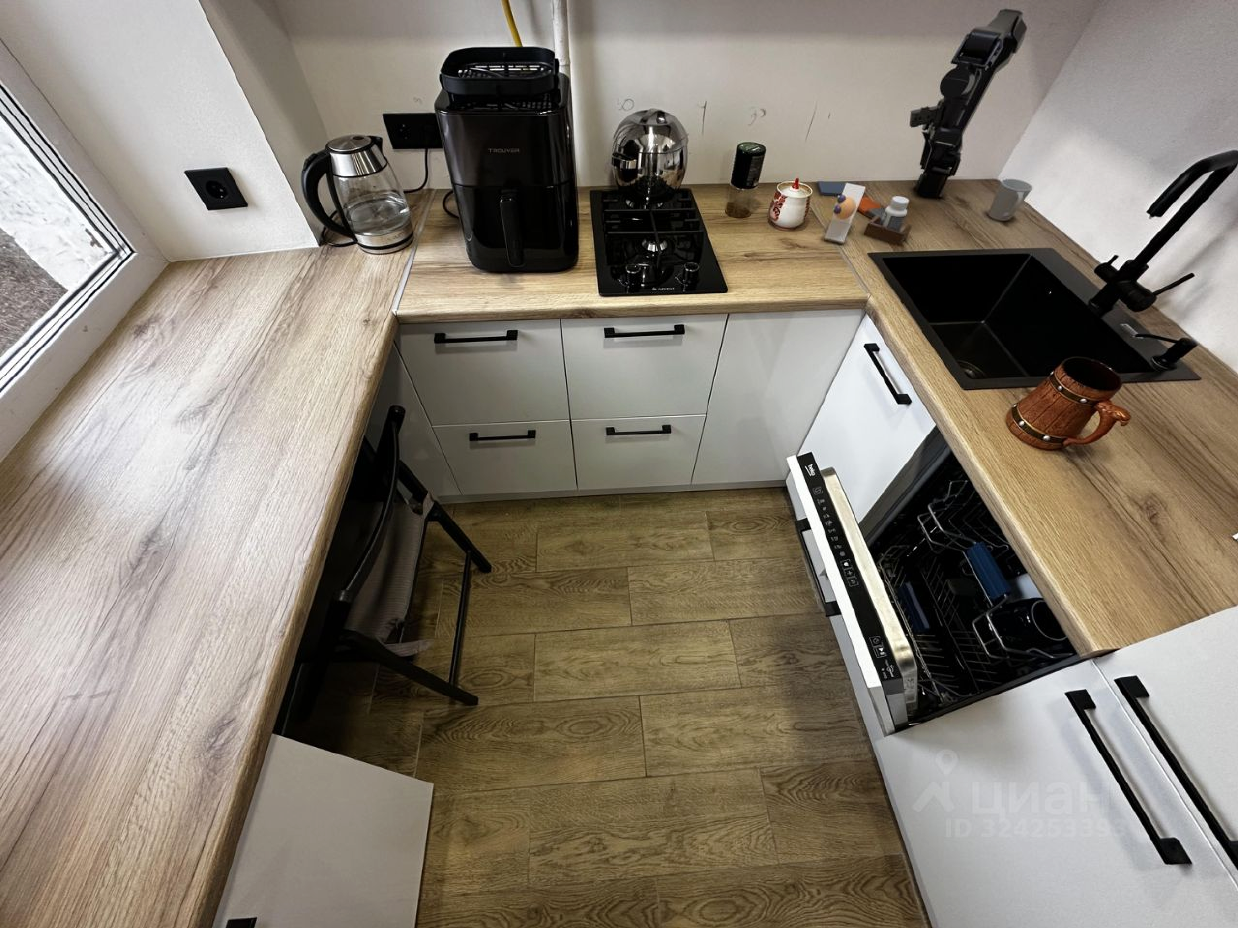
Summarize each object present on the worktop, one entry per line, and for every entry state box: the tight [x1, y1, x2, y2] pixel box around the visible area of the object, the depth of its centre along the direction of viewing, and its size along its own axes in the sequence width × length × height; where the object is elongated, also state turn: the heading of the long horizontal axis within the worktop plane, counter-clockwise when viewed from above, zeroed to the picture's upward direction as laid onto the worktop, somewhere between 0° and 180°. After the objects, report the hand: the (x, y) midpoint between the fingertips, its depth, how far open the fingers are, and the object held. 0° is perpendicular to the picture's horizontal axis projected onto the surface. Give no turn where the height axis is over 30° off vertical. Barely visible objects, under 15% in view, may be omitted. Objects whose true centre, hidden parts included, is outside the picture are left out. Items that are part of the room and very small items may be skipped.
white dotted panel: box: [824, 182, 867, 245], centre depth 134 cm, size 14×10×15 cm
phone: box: [857, 196, 886, 225], centre depth 145 cm, size 6×1×15 cm
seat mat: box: [816, 180, 864, 198], centre depth 155 cm, size 12×8×1 cm, turn 84°
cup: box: [987, 178, 1033, 222], centre depth 142 cm, size 8×10×8 cm
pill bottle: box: [878, 195, 910, 232], centre depth 135 cm, size 5×5×9 cm
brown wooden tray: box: [863, 215, 913, 246], centre depth 137 cm, size 6×9×3 cm
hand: (923, 169), depth 136 cm, fingers open, 9 cm apart
